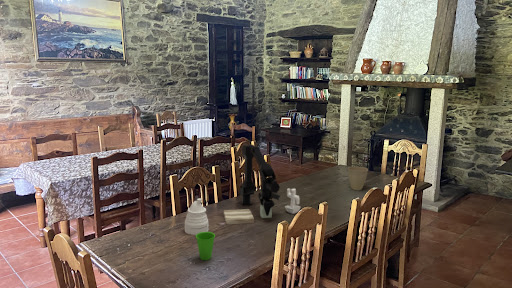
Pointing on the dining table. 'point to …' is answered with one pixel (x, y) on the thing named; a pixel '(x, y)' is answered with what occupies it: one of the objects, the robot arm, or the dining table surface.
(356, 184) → the plant pot
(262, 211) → the sage cube
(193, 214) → the honey pot
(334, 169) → the dining table surface
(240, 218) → the birch base
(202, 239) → the cup
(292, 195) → the figurine
